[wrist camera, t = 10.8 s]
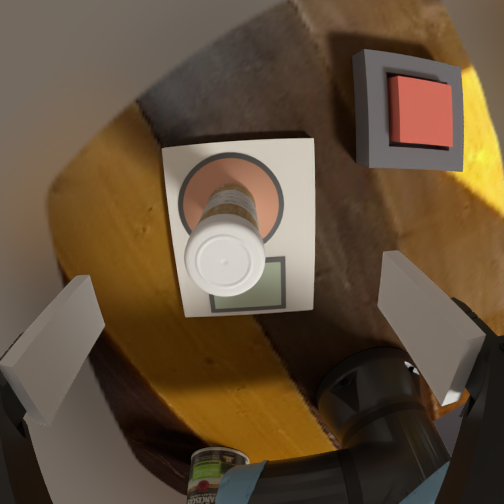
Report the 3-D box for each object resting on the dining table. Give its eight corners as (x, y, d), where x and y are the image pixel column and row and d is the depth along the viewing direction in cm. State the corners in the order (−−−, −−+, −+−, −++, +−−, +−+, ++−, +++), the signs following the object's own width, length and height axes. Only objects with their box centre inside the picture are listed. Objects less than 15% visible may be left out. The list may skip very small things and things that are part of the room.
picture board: (311, 305, 35) (313, 310, 34) (186, 312, 35) (185, 317, 34) (311, 138, 29) (314, 138, 28) (164, 147, 29) (161, 148, 28)
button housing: (444, 166, 30) (462, 171, 27) (356, 163, 30) (369, 167, 27) (442, 70, 26) (460, 67, 23) (351, 56, 26) (364, 48, 23)
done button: (436, 144, 27) (452, 146, 24) (386, 140, 27) (400, 142, 24) (434, 87, 25) (451, 85, 22) (383, 79, 25) (397, 75, 22)
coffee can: (179, 451, 46) (170, 520, 33) (233, 441, 45) (233, 516, 32) (208, 476, 50) (205, 538, 37) (258, 467, 48) (262, 533, 35)
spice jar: (226, 237, 31) (216, 312, 19) (197, 200, 30) (165, 254, 17) (265, 210, 30) (282, 271, 18) (237, 171, 29) (233, 205, 16)
